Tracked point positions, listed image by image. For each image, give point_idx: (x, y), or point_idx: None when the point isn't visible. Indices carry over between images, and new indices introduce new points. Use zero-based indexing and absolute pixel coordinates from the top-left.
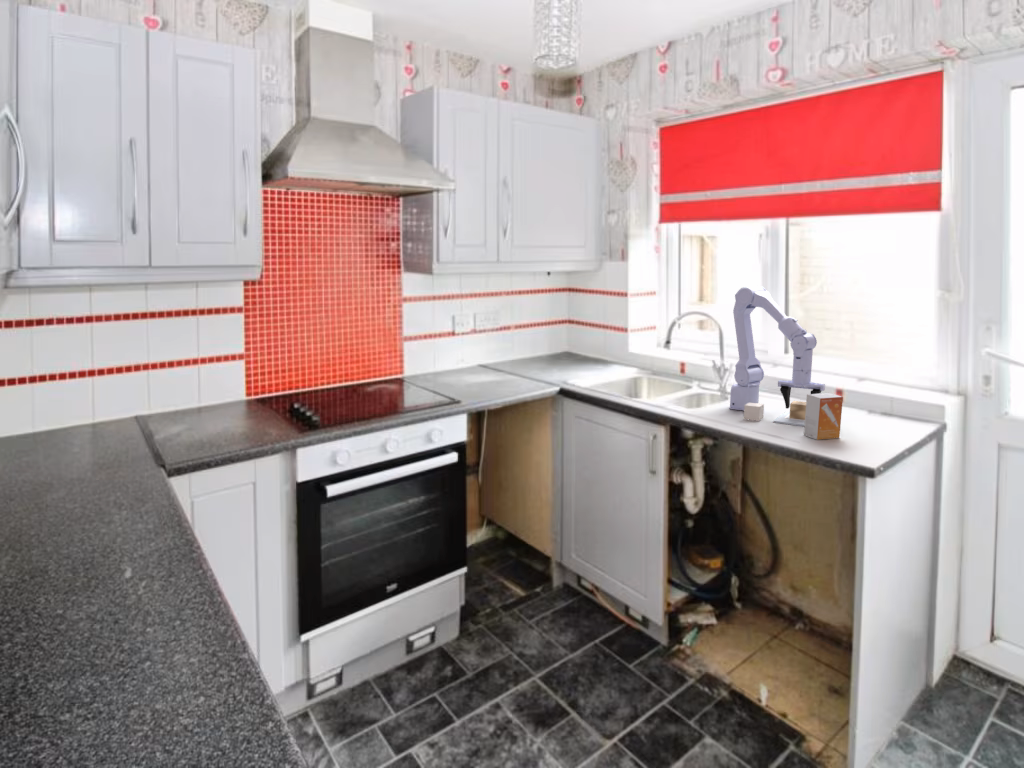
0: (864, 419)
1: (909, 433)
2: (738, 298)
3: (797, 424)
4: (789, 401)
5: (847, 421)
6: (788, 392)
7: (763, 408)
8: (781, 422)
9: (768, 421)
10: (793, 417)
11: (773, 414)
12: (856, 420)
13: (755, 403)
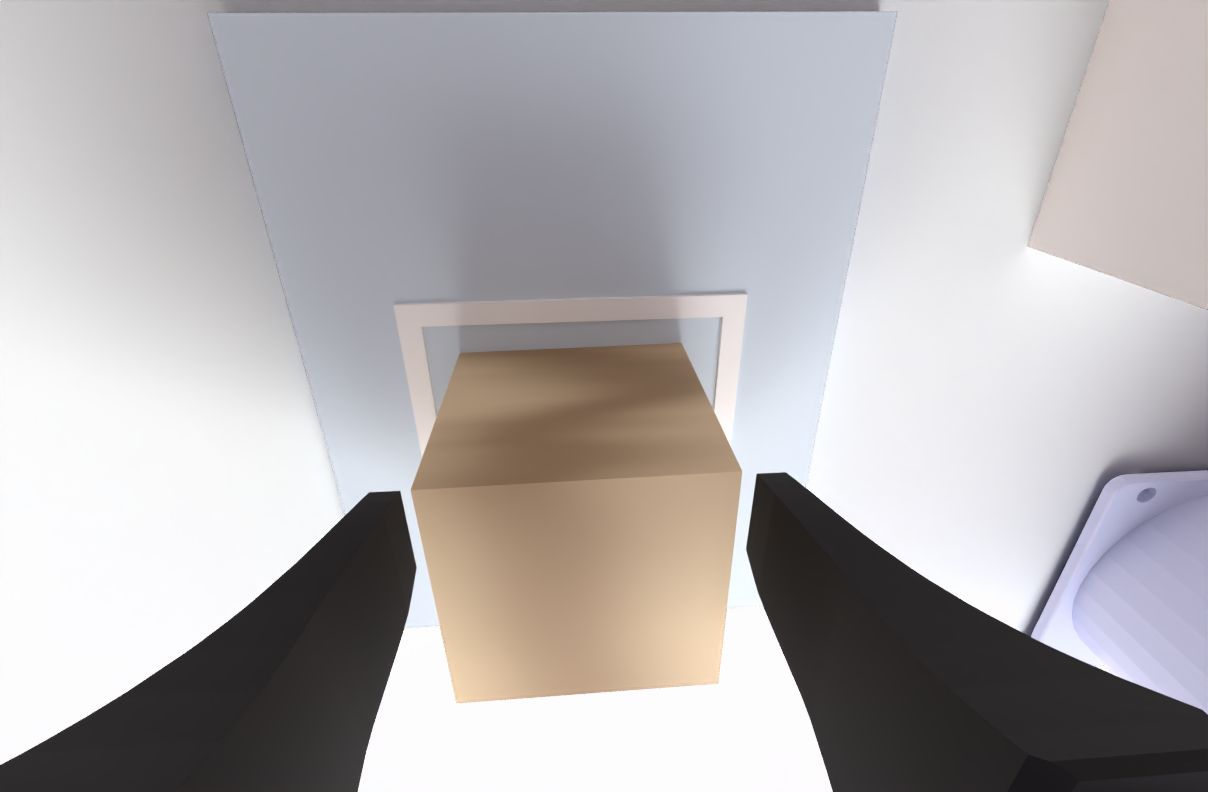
0: (23, 736)
1: None
2: None
3: (471, 17)
4: (782, 628)
5: (83, 602)
6: (906, 766)
7: (1168, 277)
8: (748, 14)
9: (956, 52)
10: (627, 353)
11: (894, 490)
12: (48, 675)
13: None
